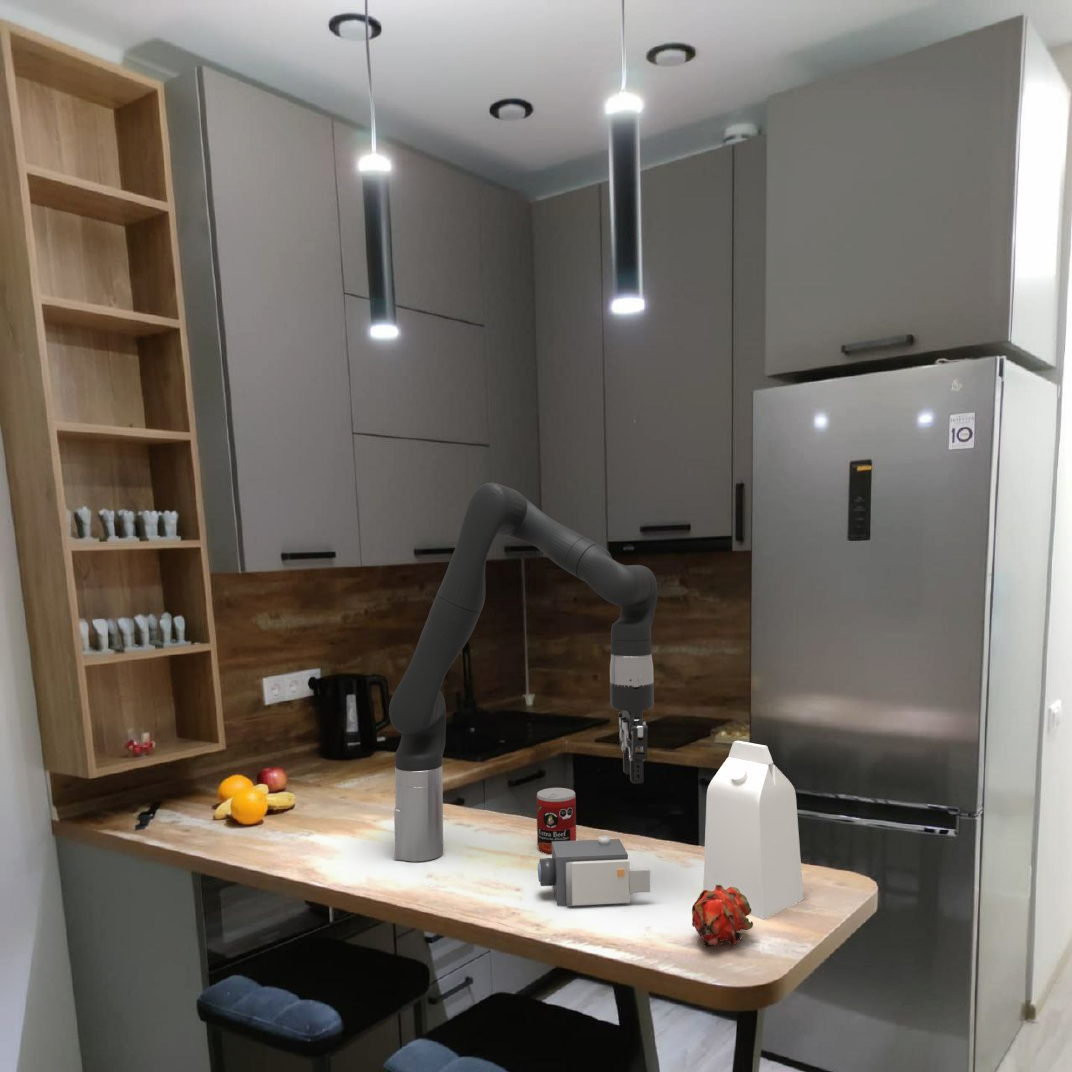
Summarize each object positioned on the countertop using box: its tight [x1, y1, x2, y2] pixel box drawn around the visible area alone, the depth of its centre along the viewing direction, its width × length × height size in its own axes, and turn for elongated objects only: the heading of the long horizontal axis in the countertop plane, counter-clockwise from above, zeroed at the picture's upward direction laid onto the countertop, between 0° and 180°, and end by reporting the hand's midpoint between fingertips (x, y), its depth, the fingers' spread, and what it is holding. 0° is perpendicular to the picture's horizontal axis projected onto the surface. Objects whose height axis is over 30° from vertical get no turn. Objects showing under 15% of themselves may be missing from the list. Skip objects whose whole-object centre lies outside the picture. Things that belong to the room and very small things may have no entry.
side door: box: [565, 858, 651, 907], centre depth 145 cm, size 14×1×7 cm, turn 95°
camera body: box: [537, 835, 629, 907], centre depth 149 cm, size 15×8×9 cm, turn 95°
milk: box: [702, 740, 804, 920], centre depth 147 cm, size 12×12×26 cm
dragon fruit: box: [691, 885, 754, 948], centre depth 131 cm, size 8×8×12 cm
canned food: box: [536, 787, 577, 855], centre depth 173 cm, size 8×8×11 cm
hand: (633, 777), depth 151 cm, fingers open, 5 cm apart
